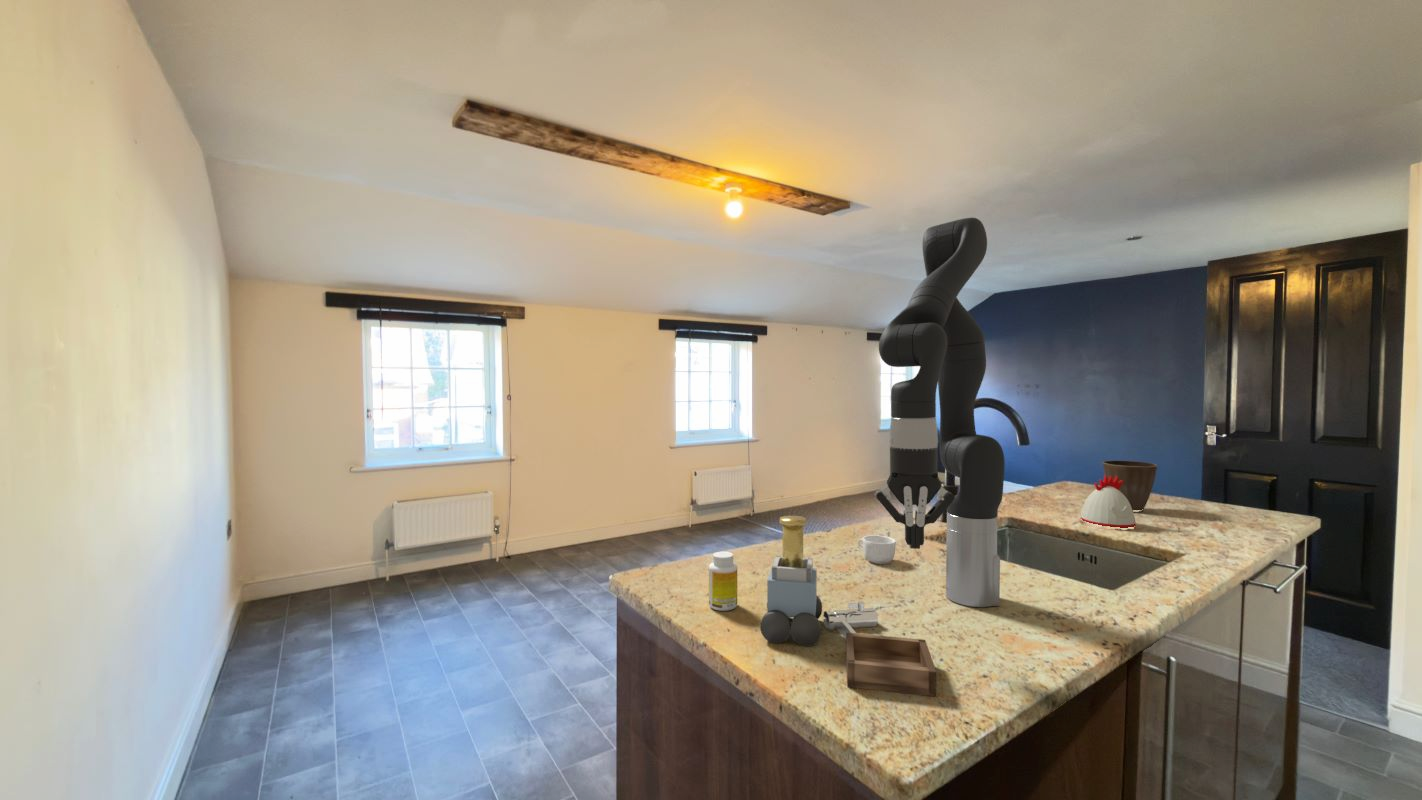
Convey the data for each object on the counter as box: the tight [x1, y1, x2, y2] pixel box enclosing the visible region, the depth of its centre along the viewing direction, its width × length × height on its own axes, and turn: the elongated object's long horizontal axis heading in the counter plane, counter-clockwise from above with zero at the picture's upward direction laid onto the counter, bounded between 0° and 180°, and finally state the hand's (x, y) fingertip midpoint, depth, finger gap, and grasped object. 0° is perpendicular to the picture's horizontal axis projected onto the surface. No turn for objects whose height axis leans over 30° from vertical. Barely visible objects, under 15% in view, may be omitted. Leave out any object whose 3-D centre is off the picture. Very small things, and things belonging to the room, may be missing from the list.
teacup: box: [857, 534, 897, 565], centre depth 139 cm, size 10×8×5 cm
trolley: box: [759, 555, 823, 647], centre depth 100 cm, size 10×11×12 cm
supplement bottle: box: [708, 551, 738, 612], centre depth 110 cm, size 6×6×10 cm
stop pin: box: [779, 515, 807, 568], centre depth 99 cm, size 5×5×10 cm
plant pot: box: [1102, 460, 1158, 510], centre depth 193 cm, size 15×15×16 cm
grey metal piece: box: [822, 600, 879, 640], centre depth 98 cm, size 10×4×9 cm
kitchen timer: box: [1079, 475, 1137, 528], centre depth 174 cm, size 14×14×15 cm
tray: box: [845, 633, 937, 697], centre depth 85 cm, size 12×10×4 cm
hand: (914, 547), depth 95 cm, fingers closed
